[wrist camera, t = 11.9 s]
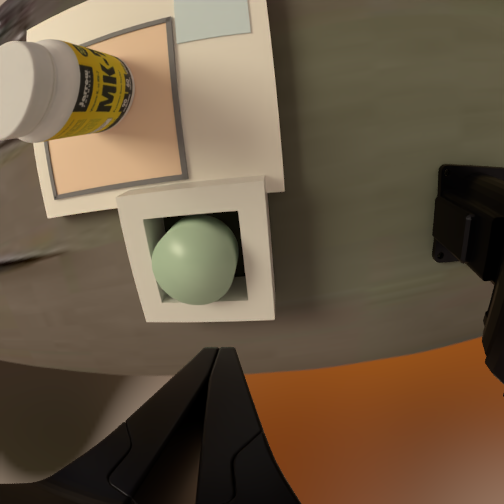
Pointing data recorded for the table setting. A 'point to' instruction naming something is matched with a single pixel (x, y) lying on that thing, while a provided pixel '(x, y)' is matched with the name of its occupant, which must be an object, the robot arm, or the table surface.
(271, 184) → the colouring board
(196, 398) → the robot arm
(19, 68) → the supplement bottle
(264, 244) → the button box
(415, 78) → the table surface
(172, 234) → the button
